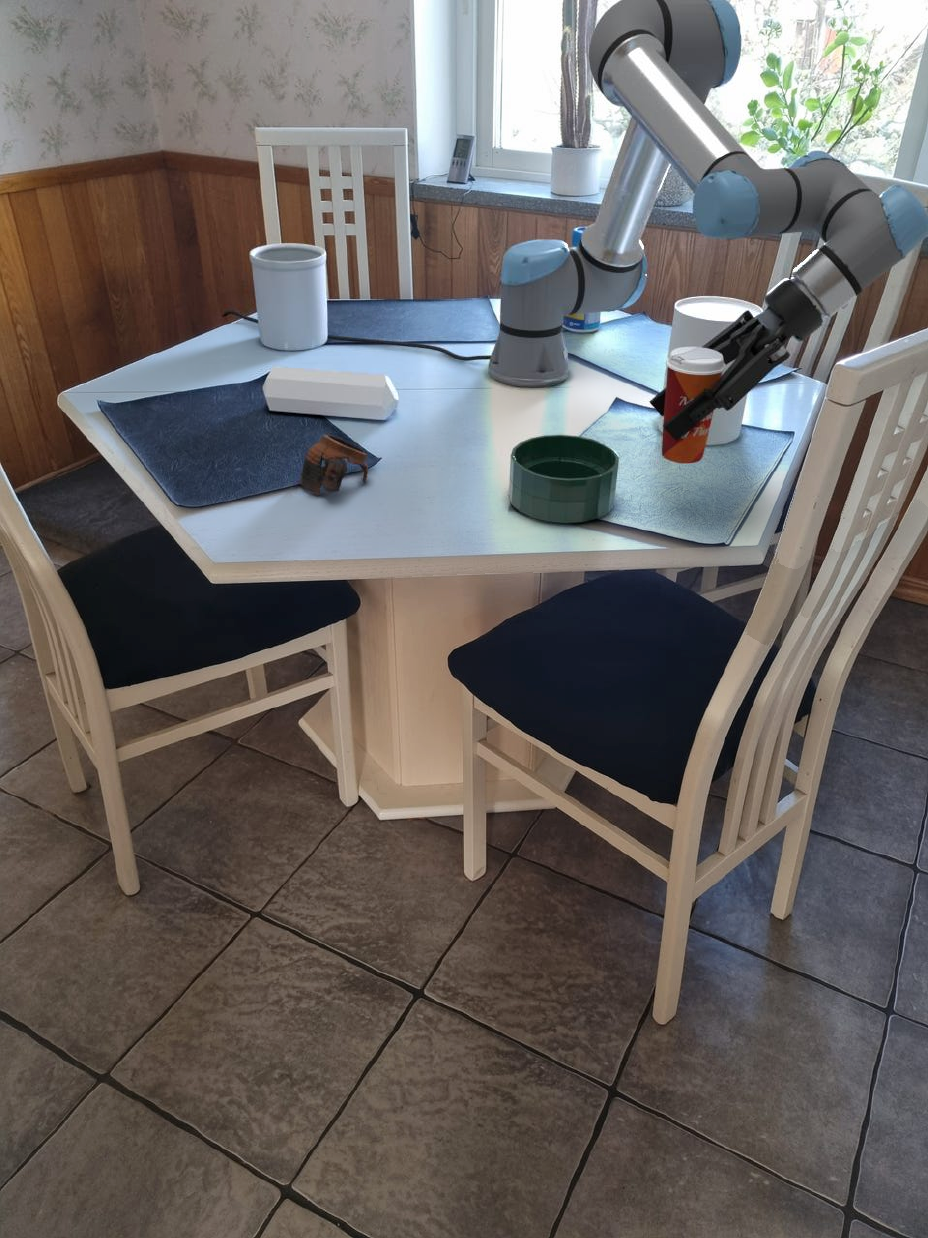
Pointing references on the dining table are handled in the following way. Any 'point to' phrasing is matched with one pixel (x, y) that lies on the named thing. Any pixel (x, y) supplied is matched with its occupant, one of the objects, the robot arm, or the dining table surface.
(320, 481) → the leather tool belt
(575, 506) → the green pet bowl
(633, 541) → the dining table surface
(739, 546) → the dining table surface
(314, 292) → the utensil holder
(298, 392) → the crystal
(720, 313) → the canister
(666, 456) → the paper cup
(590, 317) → the beverage bottle
